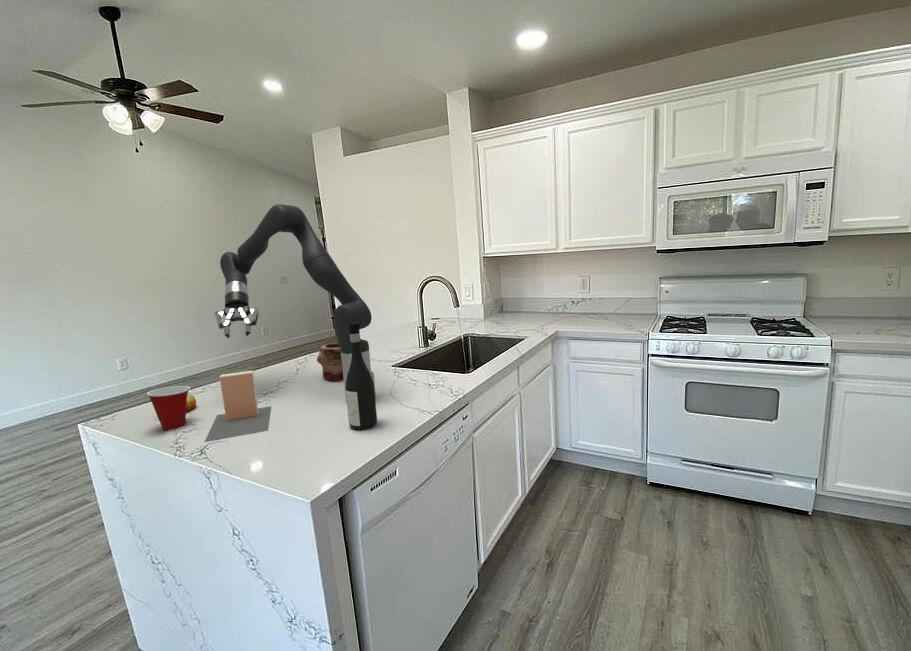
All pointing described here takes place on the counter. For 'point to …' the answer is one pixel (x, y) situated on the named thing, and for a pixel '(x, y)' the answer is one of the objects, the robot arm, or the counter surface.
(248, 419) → the rubber mat
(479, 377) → the counter surface
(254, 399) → the cream rectangular block
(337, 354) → the decorative planter
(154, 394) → the plastic cup
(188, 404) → the fruit
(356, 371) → the wine bottle
